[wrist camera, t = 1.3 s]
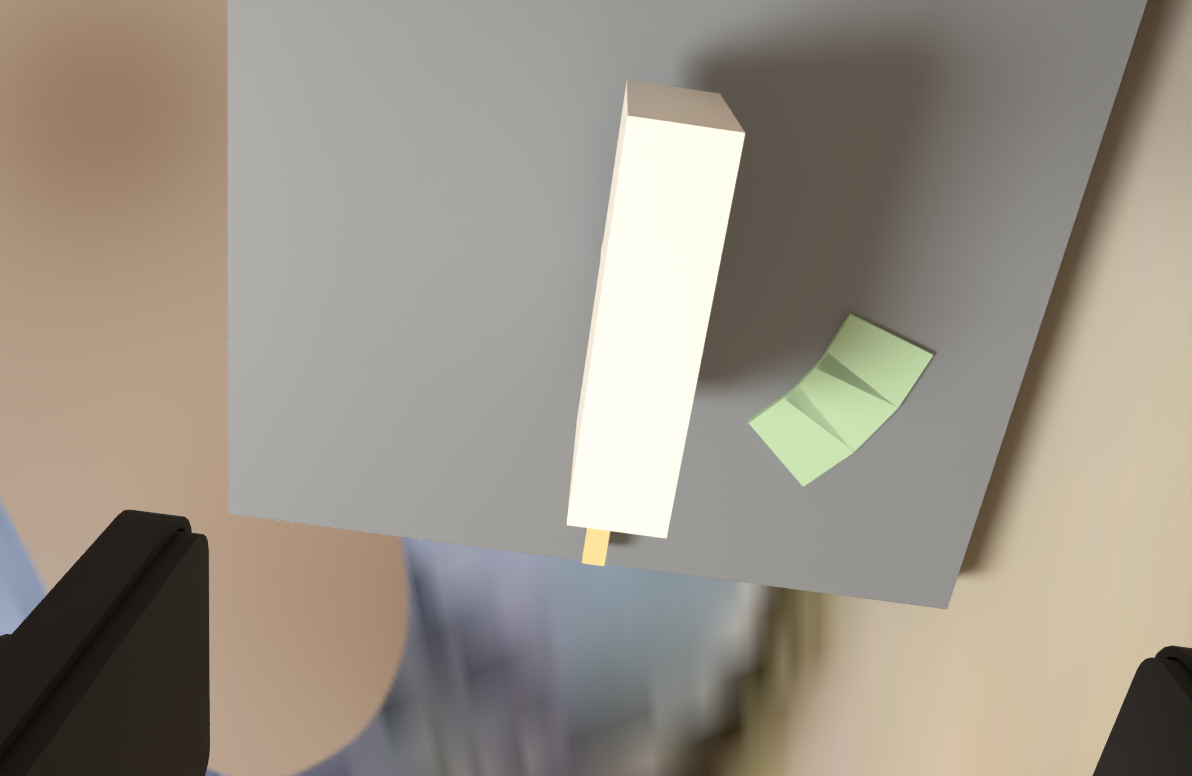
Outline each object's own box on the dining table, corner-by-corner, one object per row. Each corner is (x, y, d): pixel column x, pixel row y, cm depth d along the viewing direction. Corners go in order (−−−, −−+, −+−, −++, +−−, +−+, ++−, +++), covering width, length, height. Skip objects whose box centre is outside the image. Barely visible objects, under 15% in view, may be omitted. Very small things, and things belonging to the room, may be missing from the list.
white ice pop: (626, 73, 23) (627, 115, 17) (715, 86, 23) (745, 133, 17) (557, 549, 28) (539, 704, 22) (630, 559, 28) (631, 716, 22)
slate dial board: (251, -235, 23) (225, -247, 21) (1146, -95, 23) (1183, -97, 22) (246, 487, 30) (226, 516, 28) (932, 579, 30) (948, 612, 29)
